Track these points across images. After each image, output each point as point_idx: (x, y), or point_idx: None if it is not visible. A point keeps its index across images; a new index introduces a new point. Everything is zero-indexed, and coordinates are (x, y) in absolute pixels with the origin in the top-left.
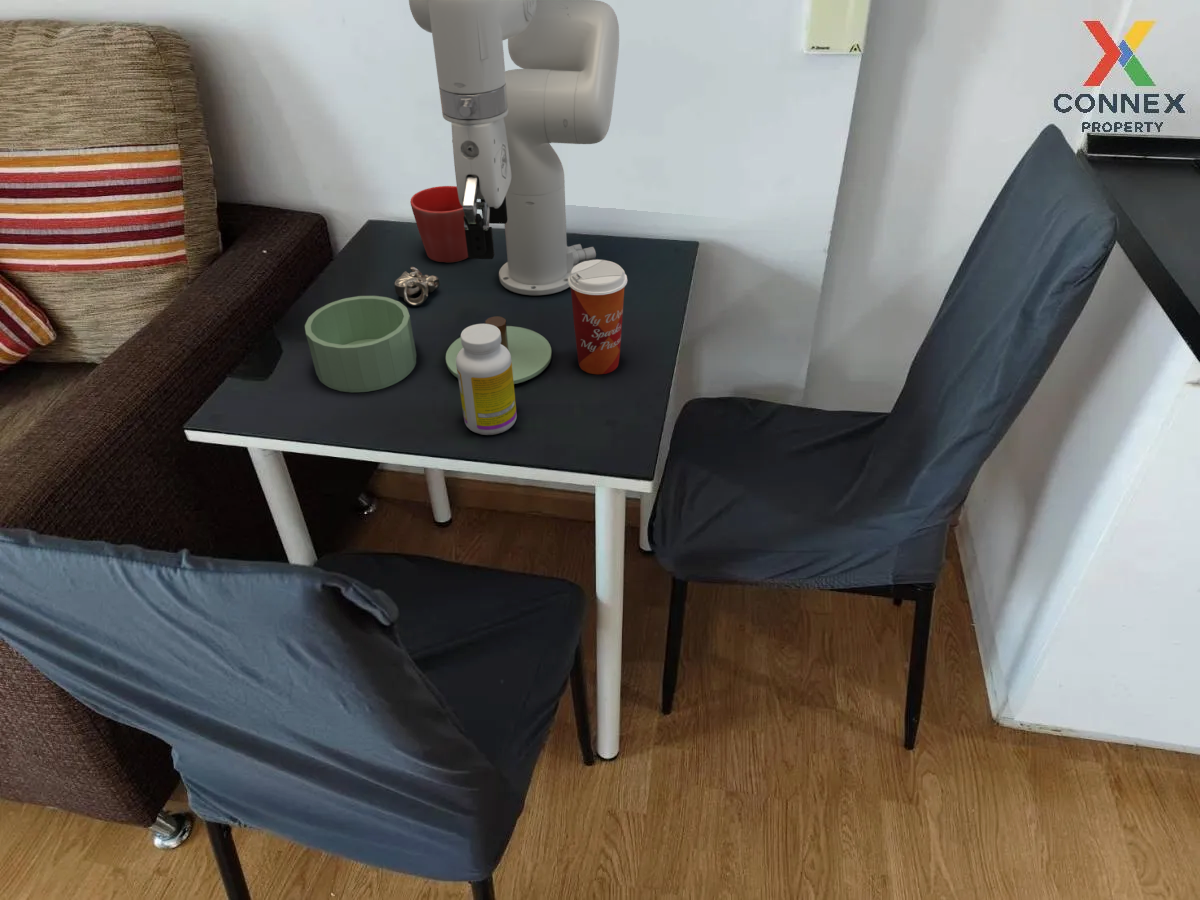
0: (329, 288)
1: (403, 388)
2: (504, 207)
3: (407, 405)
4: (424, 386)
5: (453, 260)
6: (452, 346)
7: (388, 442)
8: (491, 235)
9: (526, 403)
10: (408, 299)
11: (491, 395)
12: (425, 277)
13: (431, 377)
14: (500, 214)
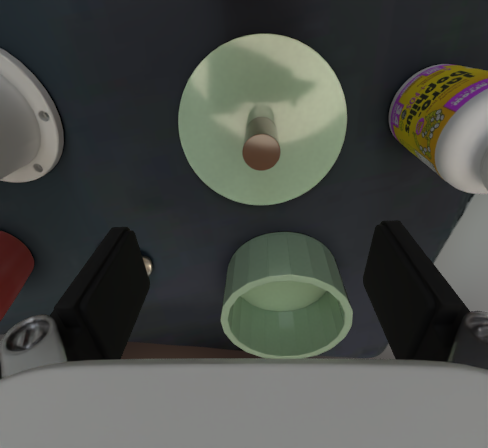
0: (140, 335)
1: (330, 232)
2: (107, 268)
3: (368, 220)
4: (327, 211)
5: (22, 245)
6: (250, 201)
7: (442, 222)
8: (442, 279)
9: (385, 56)
10: (147, 272)
11: None
12: None
13: (307, 208)
14: (124, 262)
